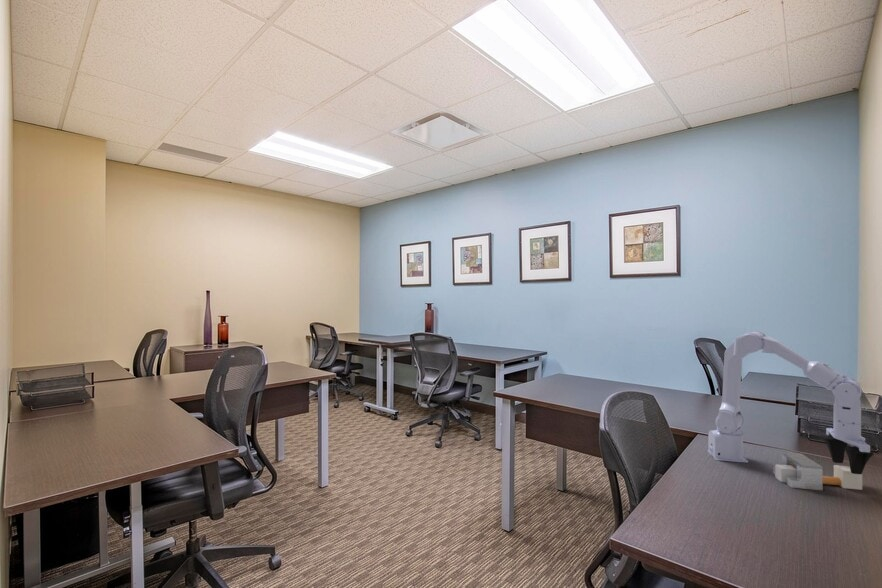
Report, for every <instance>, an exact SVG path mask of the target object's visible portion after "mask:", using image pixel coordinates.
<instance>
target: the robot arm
mask: <svg viewBox="0 0 882 588" xmlns="http://www.w3.org/2000/svg"><path fill="white" fill-rule="evenodd" d="M760 350H761V353H766V354H774V355H777V356H778V357H780V358H782V359H783V360H784V361H785V360H786V361H787V362H789V363H791V364H793V365H794V366H796V367H798V368H799V369H801V370H802V371H803V375H804V377H805V378H808V379H809V380H811V381H812V382H814V383H816V384H817V385H819V386H821V387H823V388H824V389H825V390H829V391H831V392H832V394H833V396H834V403H833V428H832V427H826V428H825V430H826V432H825V434H826V435H827V436H822V439H823V440H824V443H825V444H826V446H827V448H828V450H829V454H830V457H831V460H832V462H833V463H835V464H843V463H844V460H845V453H846V455H847V458H848V461H849V466H850V470H851V473H853V474H862V475H863V471H864V469H865V466H866V464H867V463H868V461H869V460H871V457H872V456H874V452H873V451H872V450H871V445H870V444H868V443H867V442H866V438H865V437H863V436H862V406H861V403H862V402H861V396H862V391H863V389H862V387H861V384H860V383H859V382H858V381H856V379H854V378H851V377H848V375H847V374H845V373H843V374H841V373H840V372H838V371H836V370H834V369H833V368H831V367H830V366H829V364H828V363H827V362H825V361H824V362H821V361H819V360H814V361H812V360H809V359H807V358H806V357H804V356H802V355H801V354H799V352H796V351H795V350H794V349H791V348H790V347H788V346H787V345H786V344H783V342H780V341H779V340H777V339H776V338H774V337H772V336H769V335H766V334H765V333H763V332H761V331H760V330H759V331H758V330H755V331H754V330H753V331H750V332H746V333H743V334H741V335H739V336H737V337H736V338H735V339H734V340H733V342H731V344H730V345H729V346H728V347H727V348H726V349H725V350H724V354H723V355H724V356H723V357H724V358H723V359H724V360H723V374H722V375H723V377H722V391H721V392H722V396H721V405H720V407H719V408H718V415H717V416H716V418H715V420H714V424H715V426H716V429H713V430H709V431H708V435H707V436H708V437H707V441H708V442H707V444H708V445H707V446H708V450H707V453H708V454H709V455H710V456H711V457H713V459H714V460H715V461H723V462H725V461H726V462H736V463H749V460H748V459H746V458H745V457H744V447H743V446H744V444H743V443H744V437H743V436H744V435H743V430H742V428H741V427H742V426H743V425H744V422H745V419H744V415H743V413H742V407H741V404H740V403H741V388H742V387H741V385H742V367H743V358H745V357H747V356H748V355H750V354H752V353H755V352H758V351H760ZM848 445H849V446H851V447H847V446H848Z"/></svg>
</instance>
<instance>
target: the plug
mask: <svg viewBox="0 0 882 588" xmlns="http://www.w3.org/2000/svg"><path fill="white" fill-rule="evenodd" d="M774 467H775V474H774V475H775V479H777V480H778V481H779V482H781V483H787V477H792V478H797V469H795V468H794V467H792V466H791V465H782V464H778V463H776V464H775V465H774ZM823 485H830V486H831V485H833V486H839V487H841V488H842V489H849V490H860V491H861V490H862V491H863V473H862V474H853V473H851V470H850V465H838V464H834V465H833V476H829V475H823Z"/></svg>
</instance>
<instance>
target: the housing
mask: <svg viewBox="0 0 882 588" xmlns="http://www.w3.org/2000/svg"><path fill="white" fill-rule="evenodd" d="M781 465H791V466H792V467H794V468H795V469H797V478H792V477H787V482H786V484H787V486H789V487H790V488H792V489H803V490H804V489H805V490H813V491H815V490H816V491H823V489H824V487H823V485H824V484H823V476H824V475H823V474H824V473H823V471H824V470H823V466H822V465H821V464H819V463H817V462H815V461H814V460H812V459H810V457H808V456H806V455H805V454H803V453H798V452H797V453H796V452H784V451H781ZM772 473H773V474H774V475H775V466H772Z"/></svg>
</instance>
